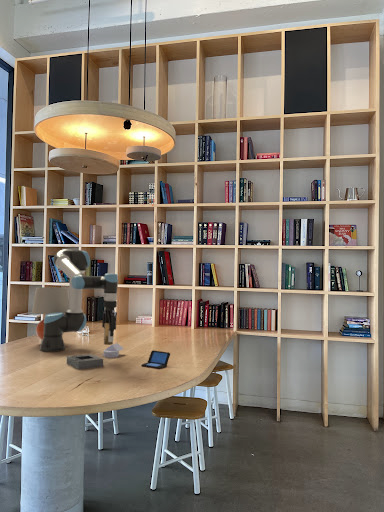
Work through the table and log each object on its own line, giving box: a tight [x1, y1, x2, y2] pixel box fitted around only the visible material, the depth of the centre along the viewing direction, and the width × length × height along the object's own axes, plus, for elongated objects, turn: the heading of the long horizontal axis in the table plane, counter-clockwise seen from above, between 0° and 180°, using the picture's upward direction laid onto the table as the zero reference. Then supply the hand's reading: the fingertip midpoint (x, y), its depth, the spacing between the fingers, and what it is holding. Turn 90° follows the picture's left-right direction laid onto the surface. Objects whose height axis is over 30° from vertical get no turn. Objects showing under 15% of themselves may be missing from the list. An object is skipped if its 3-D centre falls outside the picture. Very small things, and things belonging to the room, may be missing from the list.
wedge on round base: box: [102, 342, 124, 359], centre depth 254 cm, size 9×7×13 cm
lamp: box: [31, 286, 69, 344], centre depth 289 cm, size 25×25×39 cm
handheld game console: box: [141, 349, 171, 370], centre depth 228 cm, size 12×11×7 cm
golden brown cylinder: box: [103, 323, 114, 346], centre depth 240 cm, size 5×5×12 cm
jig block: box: [66, 353, 104, 370], centre depth 226 cm, size 16×14×4 cm
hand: (108, 340), depth 240 cm, fingers closed on golden brown cylinder, 5 cm apart
